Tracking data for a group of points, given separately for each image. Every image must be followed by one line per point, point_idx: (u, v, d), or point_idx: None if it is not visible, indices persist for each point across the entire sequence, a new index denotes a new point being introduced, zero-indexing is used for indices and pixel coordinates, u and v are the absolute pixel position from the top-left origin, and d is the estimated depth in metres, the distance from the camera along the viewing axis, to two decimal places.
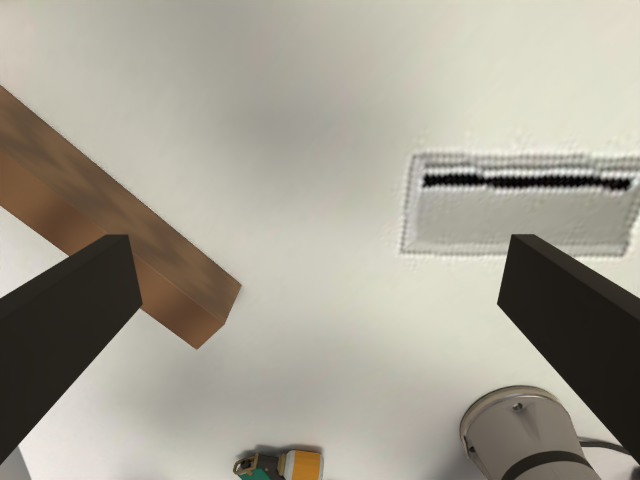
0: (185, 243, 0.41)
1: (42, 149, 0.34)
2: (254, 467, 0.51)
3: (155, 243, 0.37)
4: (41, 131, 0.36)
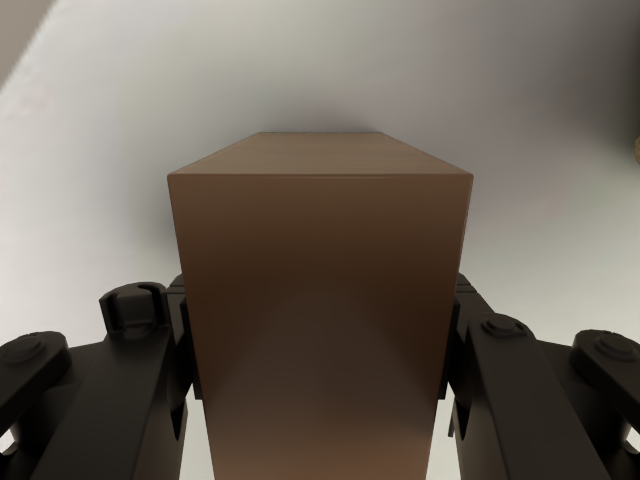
0: None
1: None
2: None
3: None
4: None
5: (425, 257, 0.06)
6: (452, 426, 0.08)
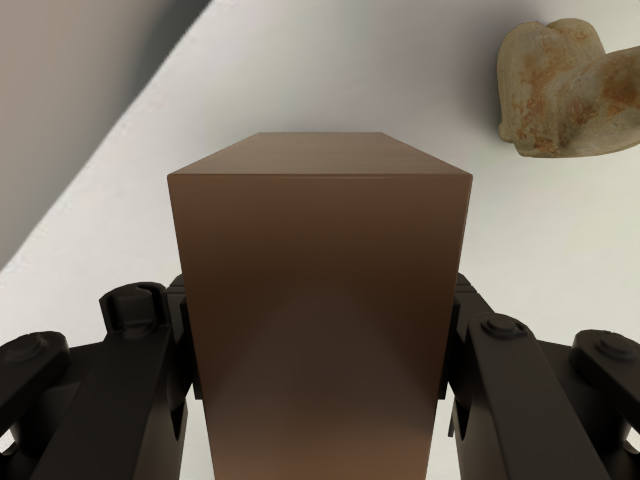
0: None
1: None
2: None
3: None
4: None
5: (426, 257, 0.06)
6: (452, 426, 0.08)
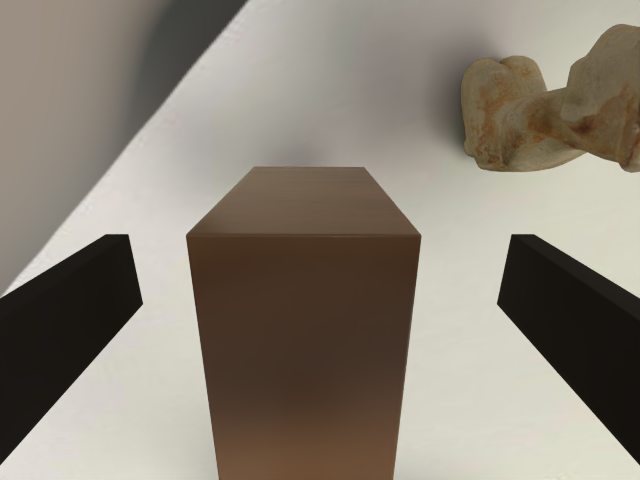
0: None
1: None
2: None
3: None
4: None
5: (387, 296, 0.07)
6: None
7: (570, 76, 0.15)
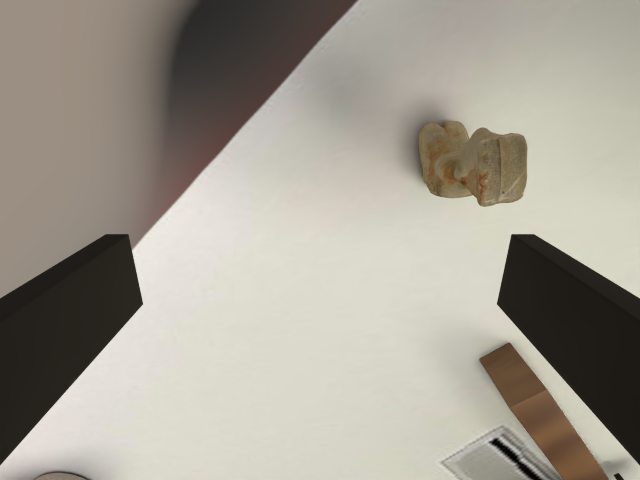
0: None
1: None
2: None
3: None
4: None
5: (547, 399, 0.40)
6: None
7: None
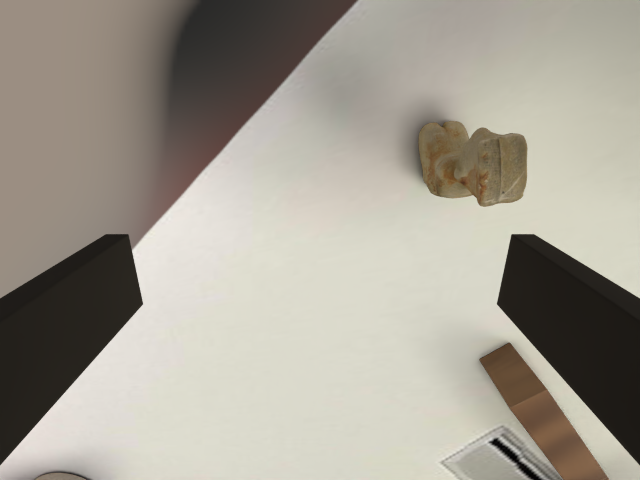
0: None
1: None
2: None
3: None
4: None
5: (547, 399, 0.40)
6: None
7: None
